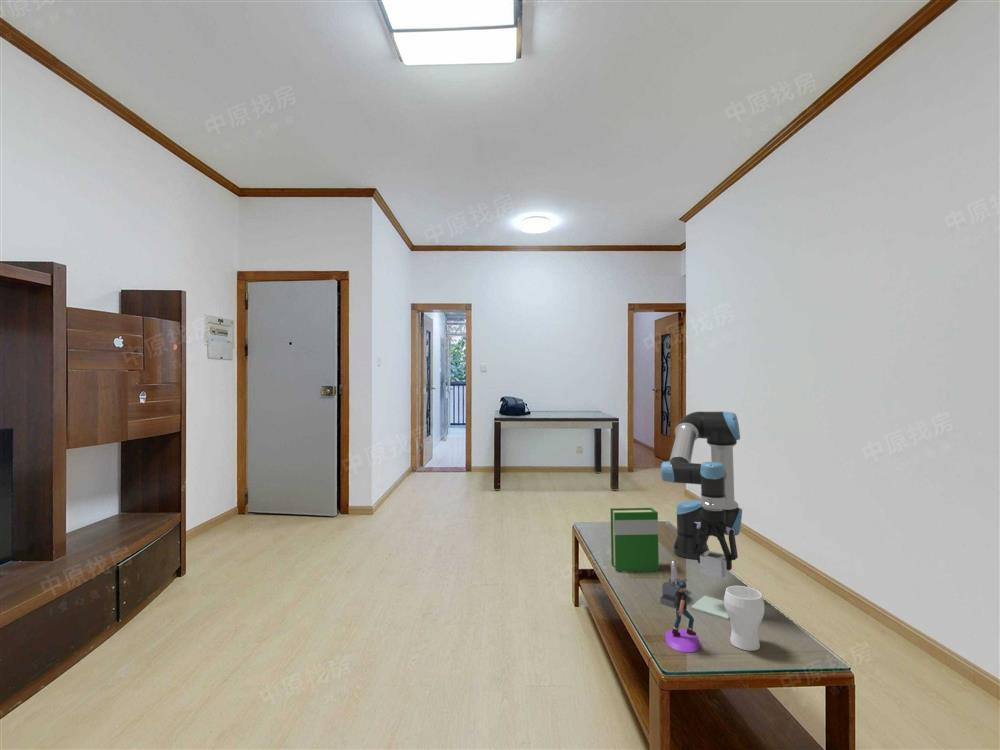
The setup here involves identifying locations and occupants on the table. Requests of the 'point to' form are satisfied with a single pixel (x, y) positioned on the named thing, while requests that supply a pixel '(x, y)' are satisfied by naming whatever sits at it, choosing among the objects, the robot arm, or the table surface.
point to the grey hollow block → (712, 564)
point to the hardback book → (634, 539)
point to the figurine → (679, 637)
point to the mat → (711, 607)
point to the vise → (671, 587)
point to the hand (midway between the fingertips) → (714, 575)
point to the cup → (744, 616)
